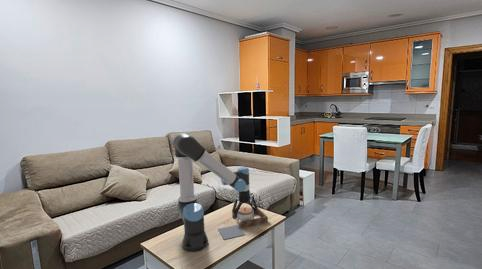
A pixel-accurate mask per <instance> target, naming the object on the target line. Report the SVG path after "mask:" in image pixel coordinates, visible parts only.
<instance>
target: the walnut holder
mask: <svg viewBox="0 0 482 269" xmlns="http://www.w3.org/2000/svg"><path fill="white" fill-rule="evenodd" d="M250 208H251V209H252V207H250ZM255 214H257V215H258V216H259V217H257V218H254V219H252V218H251V220H246V221H239V227H240V228H241V229H244V228H248V227H253V226H257V225H263V224H267V223H269V222H268V221H269V217H268V215H266V214H265V213H264V211H262V210H261V209H260V208H259V207H258V206H257V209H256V210H255ZM255 214H254V215H255ZM231 215H232V216H231V217H232V219H236V217H235V213H233V212H232V211H231Z"/></svg>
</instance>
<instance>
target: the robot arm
mask: <svg viewBox="0 0 482 269" xmlns="http://www.w3.org/2000/svg"><path fill="white" fill-rule="evenodd" d="M172 142H173V143H172V146H173V148H174V155H175V158H176V159H177V163H178V165H177V166H178V178H179V194H180V195H179V197H178V198H177V202H178V203H177V213H178V214H179V216H180V218H181V219H182V221H183V230H184V235H183V238H182V243H181V244H182V245H181V246H182V249H184V250H185V251H187V252H191V253H192V252H199V251H203V249H205V248H207V247H208V245H209V238H208V235H207V233H206V231H205V214H204V213H205V211H204V208H203V206H202V205H201V204H200V203H198V197H197V195H196V194H195V187H194V186H195V184H194V168H193V167H194V166H193V165H194V163H193V161H194V162H198V163H199V164H201V165H202V167H204V168H206V169H208V171H210V172H211V173H213V175H215V176H217V177H218V178H219V179H220V182H221V184H222V186H228V185H229V186H230V187H231V188H233V190H234V191H236V192H238V197H237V198H236V197H235V198H234V202H233V205H232V210H231V213H232V212H233V213H235V217H236V218H235V220H236V221H235V222H236V223H240V220H239V217H238V211H239V209H240V208H242V205H243V204H246V203H247V204H249V207H250V208H252V210H253V214H252V218H251V219H255V210H256V209H257V207H258V206H257V203H256V200H255V195H254V194H251V191H250V171H249V170H250V169H249V167H247V166H241V167H240V166H239V167H238V168H237V171H232V170H230V169H229V168H228V167H227V166H226V165H224V164H223V163H222V162H220V161H219V160H218V159H217V158H216V157H214V156H213V155H212V154H210V153H209V152H208V151H207V150H206V148H205V147H204V146H203V145H202V144H201V143H200V142H199V141H198V140H197V139H196V138H195V137H194V136H191V135H190V134H189V133H184V132H183V133H178V134H177V135H176V136H175V137H174V138H173V141H172ZM250 199H251V201H250ZM251 202H252V203H253V204H252V203H251Z"/></svg>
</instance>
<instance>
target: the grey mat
mask: <svg viewBox="0 0 482 269" xmlns="http://www.w3.org/2000/svg"><path fill="white" fill-rule="evenodd" d="M217 231H218V233H219V234H220V237H222V239H223V240H224V241H225V240H230V239H234V238H238V237H244V236H246V234H245V232H244V231H243V229H242V228H240V225H239V224H235V225H231V226H227V227H222V228H217Z"/></svg>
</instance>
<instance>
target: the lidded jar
mask: <svg viewBox="0 0 482 269" xmlns="http://www.w3.org/2000/svg"><path fill="white" fill-rule="evenodd" d="M251 208H252V207H248V206H244V207H243V206H241V207H240V209H239V211H238V217H239V222H241V221H246V220H251V219H252V214H253V210H252V209H251Z"/></svg>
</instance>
